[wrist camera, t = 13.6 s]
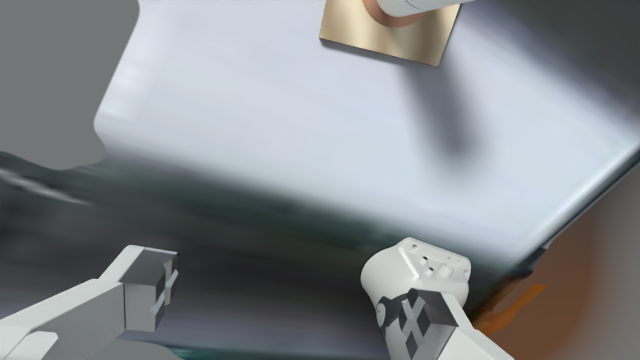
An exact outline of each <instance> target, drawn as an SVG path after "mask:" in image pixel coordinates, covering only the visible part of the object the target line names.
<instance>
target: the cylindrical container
mask: <svg viewBox="0 0 640 360" xmlns="http://www.w3.org/2000/svg"><path fill="white" fill-rule="evenodd" d="M376 1H377V3H378V5H379V7H380V8H381V9H382V10H383V11H384V12H385V13H386V14H388V15H390V16H394V17H403V16H408V15H412V14H416V13H421V12H425V11H430V10H434V9H439V8H443V7H447V6H452V5H456V4H461V3H465V2H469V1H474V0H376Z"/></svg>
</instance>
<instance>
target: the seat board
mask: <svg viewBox="0 0 640 360" xmlns="http://www.w3.org/2000/svg"><path fill="white" fill-rule="evenodd" d="M459 6H460V4H456V5H452V6H447V7H443V8H439V9H434V10H430V11H425V12H421V13H416V14H412V15H408V16H403V17H394V16H390V15H388V14H386V13H385V12H384V11H383V10H382V9H381V8H380V7H379V5H378V3H377V1H376V0H326V5H325V10H324V15H323V20H322V25H321V30H320V35H319V38H322V39H326V40H330V41H334V42H339V43H343V44H347V45H351V46H355V47H359V48H363V49H367V50H371V51H375V52H379V53H383V54H387V55H392V56H396V57H400V58H404V59H408V60H412V61H416V62H420V63H424V64H428V65H432V66H437V67H438V65H439V63H440V60H441V57H442V54H443V51H444V49H445V46H446V43H447V40H448V37H449V34H450V32H451V29H452V26H453V23H454V20H455V18H456V15H457V12H458V9H459Z"/></svg>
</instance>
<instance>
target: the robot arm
mask: <svg viewBox="0 0 640 360" xmlns="http://www.w3.org/2000/svg"><path fill="white" fill-rule="evenodd" d="M413 245H415V246H413ZM178 263H179V254H178V253H177V252H171V251H165V250H159V249H153V248H148V247H147V248H145V247H140V246H134V245H129V246H127V247H126V248H125V249H124V250H123V251H122V252H121V253H120V255H119V256H118V257H117V258H116V259H115V260H114V261H113V263H112V264H111V265H110V266H109V267H108V268H107V270H106V271H105V272H104V273H103V274H102V275H101V276H100V278H99V279H91V280H89V281H87V282H85V283H82V284H80V285H78V286H76V287H73V288H71V289H69V290H66V291H64V292H62V293H60V294H57V295H55V296H53V297H51V298H48V299H46V300H44V301H42V302H39V303H37V304H35V305H33V306H30V307H28V308H26V309H24V310H21V311H19V312H17V313H15V314H12V315H10V316H8V317H6V318H3V319H1V320H0V360H86V359H88V358H89V357H90V356H92V355H93V354H94V353H96V352H97V351H98V350H100V349H101V348H102V347H104V346H105V345H106V344H108V343H109V342H110V341H112V340H113V339H115V338H116V337H117V336H119V335H120V334H121V333H123V332H124V331H125V329H127V330H139V331H151V332H155V331H156V329H157V327H158V325H159V323H160V321H161V319H162V317H163V315H164V308H165V305H167V304H168V303H170V302H171V299H172V297H173V295H174V292H175V289H176V286H177V281H178V272H177V271H176V270H175V269H176V267H177V265H178ZM464 270H465V271H464ZM470 272H471V265H470V261H469V259H468V258H466V257H464V256H461V255H458V254H456V253H453V252H450V251H447V250H445V249H442V248H439V247H436V246H433V245H431V244H428V243H425V242H422V241H419V240H417V239H414V238H411V237H408V238H405V239H403V240H402V241H401V242H399V243H398V244H397V245H395V246H393V247H390V248H388V249H385V250H382V251H380V252H378V253H377V254H375V255H374V256H373V257H371V258H370V259H369V260H368V262H367V263H366V264H365V266H364V268H363V270H362V273H361V283H362V286H363V288H364V290H365V291H366V292H367V294H368V295H369V297H370V299H371V301H372V303H373V305H374V307H375V310H376V316H377V321H378V325H379V328H380V332H381V335H382V339H383V342H384V344H385V346H386V347H387V348H388V351H389V355H390V358H391V360H515V359H513V358H512V357H511V356H510V355H508V354H507V353H506V352H505V351H503V350H502V349H501V348H500V347H499V346H497V345H496V344H495V343H494V342H492V341H491V340H490V339H489V338H487V337H486V336H485V335H484V334H482V333H481V332H480V331H479V330H474V328H473V327H472V325H471V323H470V322H469V320H468V318H467V316H466V315H465V313H464V311H463V310H462V307H463V305H464V303H465V301H466V299H467V296H468V290H469V287H468V279H469V276H470Z"/></svg>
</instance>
